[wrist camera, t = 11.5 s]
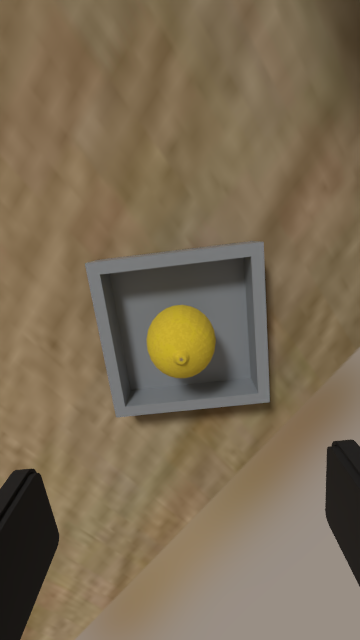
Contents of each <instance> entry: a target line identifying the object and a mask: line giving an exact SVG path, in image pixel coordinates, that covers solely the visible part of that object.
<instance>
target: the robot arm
mask: <svg viewBox="0 0 360 640" xmlns="http://www.w3.org/2000/svg"><path fill="white" fill-rule="evenodd" d="M325 511H326V518H327V521H328V523H329V526H330V528H331V530H332V532H333V534H334V536H335V538H336V540H337V542H338V544H339V546H340V548H341V550H342V552H343V554H344V556H345V558H346V560H347V561H348V564H349V566H350V568H351V570H352V572H353V574H354V576H355V578H356V580H357V582H358V584H359V586H360V447H359V445H358V444H357V443H356V442H355V441H354V440H343V441H334V442H333V443H332V447H328V448H327V471H326V509H325ZM58 542H59V532H58V529H57V525H56V522H55V519H54V516H53V513H52V509H51V506H50V503H49V500H48V497H47V493H46V490H45V487H44V484H43V481H42V477H41V475H40V474H39V473H36V471H35V470H34V469H23V470H15V471H13V473H12V474H11V475H10V476H9V478H8V479H7V480H6V482H5V483H4V485H3V486H2V487H1V489H0V640H20V639H21V636H22V634H23V631H24V629H25V626H26V624H27V621H28V619H29V616H30V614H31V611H32V609H33V606H34V604H35V601H36V599H37V596H38V594H39V591H40V589H41V586H42V584H43V581H44V579H45V576H46V574H47V571H48V569H49V566H50V564H51V561H52V559H53V556H54V554H55V551H56V549H57V546H58Z"/></svg>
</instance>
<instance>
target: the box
mask: <svg viewBox="0 0 360 640" xmlns="http://www.w3.org/2000/svg"><path fill="white" fill-rule="evenodd" d="M85 266H86V271H87V276H88V281H89V286H90V291H91V296H92V301H93V306H94V311H95V315H96V320H97V325H98V330H99V335H100V340H101V345H102V350H103V355H104V360H105V365H106V369H107V374H108V379H109V384H110V389H111V394H112V399H113V404H114V409H115V414H116V417H126V416H136V415H146V414H156V413H166V412H176V411H186V410H196V409H206V408H216V407H227V406H237V405H247V404H257V403H267V402H270V391H269V367H268V342H267V317H266V292H265V267H264V242H259V241H250V242H242V243H233V244H225V245H217V246H209V247H200V248H192V249H184V250H176V251H168V252H159V253H151V254H143V255H135V256H126V257H118V258H110V259H102V260H96V261H92V262H88V263H85ZM175 305H187V306H191V307H194V308H196V309H198V310H199V311H201V312H202V313H203V314H205V316H206V317H207V318H208V319H209V321H210V322H211V324H212V327H213V329H214V332H215V338H216V344H215V351H214V354H213V356H212V359H211V361H210V362H209V364H208V365H207V367H206V368H205V369H204V370H202V371H201V372H200V373H199V374H196V375H194V376H192V377H188V378H174V377H170V376H168V375H166V374H164V373H162V372H161V371H160V370H159V369H158V368H156V366H155V365H154V363H153V362H152V360H151V358H150V356H149V353H148V350H147V340H146V339H147V334H148V329H149V327H150V325H151V323H152V321H153V319H154V318H155V317H156V316H157V315H158V314H159V313H160V312H161V311H163V310H164V309H166V308H169V307H171V306H175Z"/></svg>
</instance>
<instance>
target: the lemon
mask: <svg viewBox="0 0 360 640" xmlns="http://www.w3.org/2000/svg"><path fill="white" fill-rule="evenodd" d="M146 340H147V350H148V353H149V356H150V358H151V360H152V362H153V363H154V365H155V366H156V368H158V369H159V370H160V371H161V372H162V373H164V374H166V375H168V376H170V377H174V378H188V377H192V376H194V375H196V374H199V373H200V372H201V371H202V370H204V369H205V368H206V367H207V365H208V364H209V362H210V361H211V359H212V356H213V354H214V351H215V344H216V338H215V332H214V329H213V327H212V324H211V322H210V321H209V319H208V318H207V317H206V316H205V314H203V313H202V312H201V311H199V310H198V309H196V308H194V307H191V306H187V305H175V306H171V307H169V308H166V309H164V310H163V311H161V312H160V313H159V314H158V315H157V316H156V317H155V318H154V319H153V321H152V323H151V325H150V327H149V329H148V334H147V339H146Z"/></svg>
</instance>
